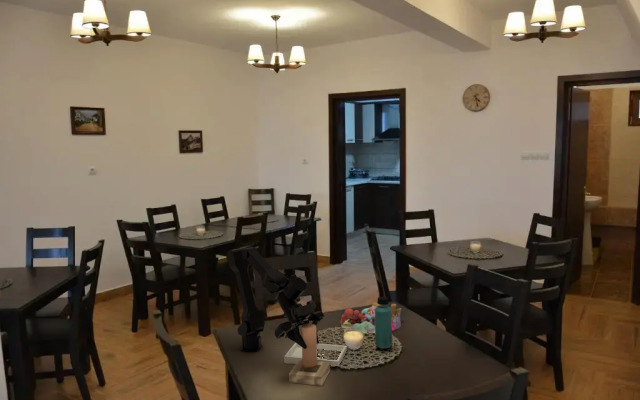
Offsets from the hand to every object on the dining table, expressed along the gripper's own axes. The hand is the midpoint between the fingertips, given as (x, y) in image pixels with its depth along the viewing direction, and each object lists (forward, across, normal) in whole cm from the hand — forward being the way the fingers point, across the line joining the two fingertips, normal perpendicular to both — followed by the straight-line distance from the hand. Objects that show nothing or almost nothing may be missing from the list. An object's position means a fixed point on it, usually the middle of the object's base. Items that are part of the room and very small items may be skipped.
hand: (312, 346), depth 169 cm
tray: (0, +12, +16) cm, 20 cm away
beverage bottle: (+9, +35, +7) cm, 37 cm away
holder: (+7, 0, +9) cm, 11 cm away
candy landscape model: (-4, +51, +21) cm, 55 cm away
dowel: (+4, 0, +6) cm, 7 cm away
